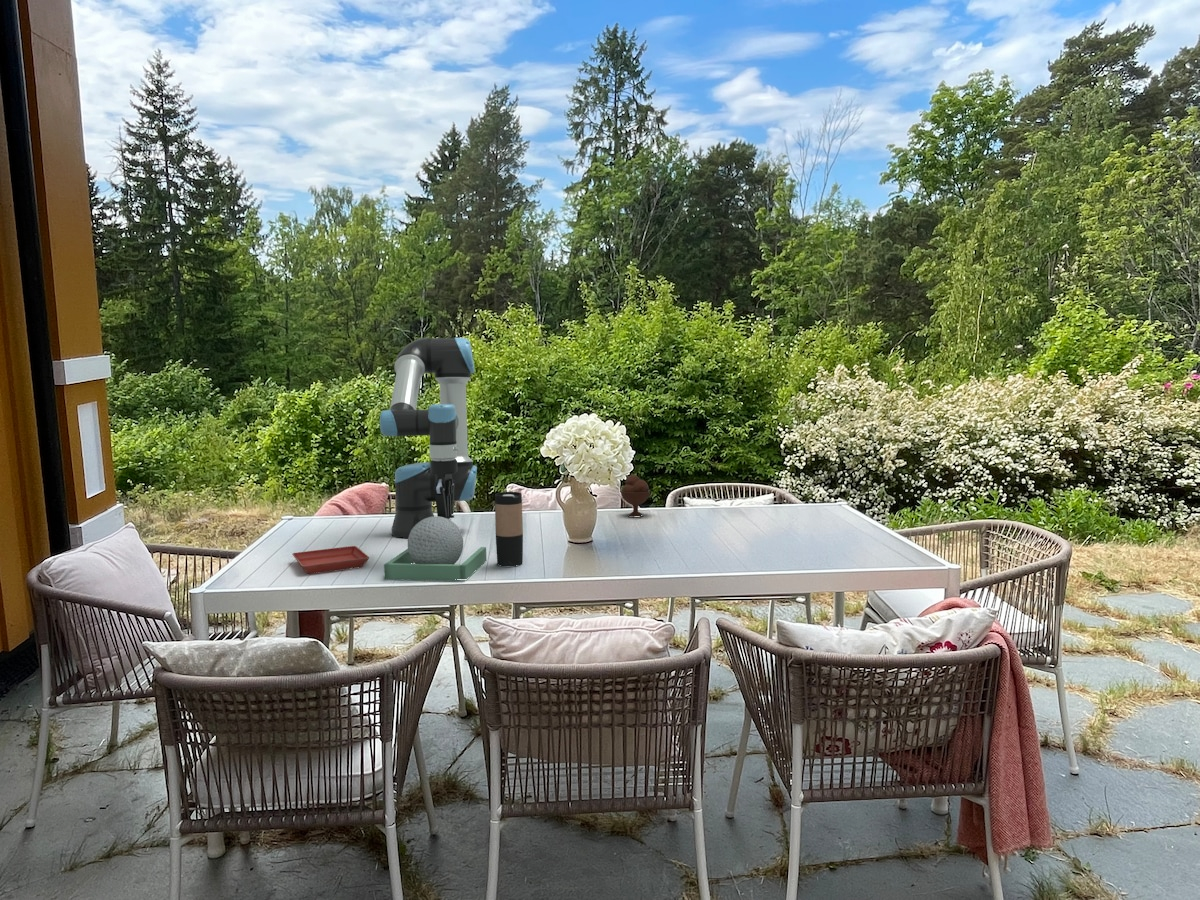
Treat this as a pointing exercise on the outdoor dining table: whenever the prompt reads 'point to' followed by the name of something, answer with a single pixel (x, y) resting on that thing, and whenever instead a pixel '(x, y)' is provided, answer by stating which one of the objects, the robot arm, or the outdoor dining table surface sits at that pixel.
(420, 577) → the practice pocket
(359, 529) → the outdoor dining table surface
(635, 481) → the ice cream bowl
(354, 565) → the plant saucer
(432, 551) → the decorative ball
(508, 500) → the travel mug
